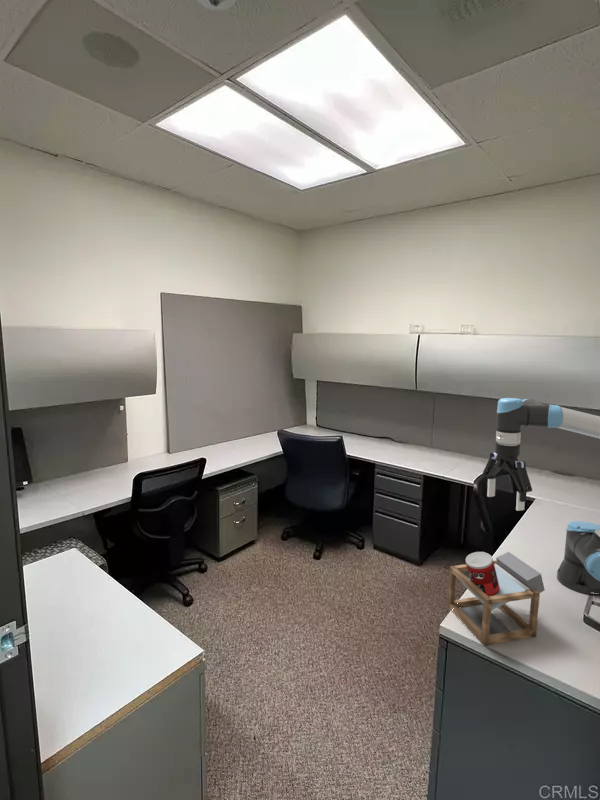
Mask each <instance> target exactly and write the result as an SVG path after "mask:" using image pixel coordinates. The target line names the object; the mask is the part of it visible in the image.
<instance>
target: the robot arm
mask: <svg viewBox="0 0 600 800" xmlns="http://www.w3.org/2000/svg"><path fill="white" fill-rule="evenodd" d="M522 427H524V428H526V427H527V428H547V429H550V428H556V429H561V430H563V431H567V432H571V433H577V434H580V435H584V436H588V437H592V438H595V439H599V440H600V416H599V415H595V414H593V413H592V414H591V413H587V412H583V411H578V410H575V409H571V408H567V407H563V406H560V405H556V404H550V403H546V402H541V401H537V400H536V399H531V398H525V399H521V398H516V397H504V398H503V397H502V398H500V399H498V401H497V409H496V429H495V430H496V432H495V442H496V443H495V448H494V449H495V451H494V452H490V453H489V459H488V461H487V463H486V465H485V467H484V469H483V472H482V475H483V476H485V478H486V487H487V493H486V497H488V498H492V497H495V496H496V482H497V481H496V480H497V479H496V476H497V474H498V473H500V471H501V470H505V471H506V472H508V474H510V476H511V478H512V479H513V482H514V484H515V486H516V488H517V489H518V490H517V491H516V502H515V503H516V504H515V505H516V506H515V510H516V511H518V512H519V511H525V503H526V502H527V493H529V492H533V488H532V487H533V486H532V483H531V481H530V477H529V475H528V471H527V465H526V463H527V462H525V461H524V460H522V461H519V460H518V457H519V456H520V452H521V445H520V444H521V435H522V434H521V433H522V432H521V431H522ZM565 532H566V535H565V544H564V545H565V547H564V557H563V560H562V562H561V563H560V565H559V568H558V569H557V571H556V579H557V581H558V582H559V583H560V584H562V585H563V586H564V587H566V588H568V589H571V590H573V591H575V592H578V593H581V594H587V595H590V594H589V593H591V592H594V593H600V524H596V523H594V522H588V521H583V520H582V521H580V520H574V521H570V522H568V524H567V527H566V529H565Z"/></svg>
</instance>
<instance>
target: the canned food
mask: <svg viewBox="0 0 600 800" xmlns="http://www.w3.org/2000/svg"><path fill="white" fill-rule="evenodd" d="M493 561H494V559H493V557H492V555H491V554H489V553H487V552H485V551H475V552H471V553H469V554H468V555H467V556H466V558H465V564H466V565H467V569H468V571H467V572H468V576H469V577H470V581H472V582H473V583H474V584H475V585H476V586H477V587H478V588H479V589H481V590H482V591H483V592H484V593H485V594H486V595H487V596H494V595H496V594H497V593H498V591H499V583H498V578H497V574H496V570H495V566H494V562H493Z"/></svg>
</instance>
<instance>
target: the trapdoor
mask: <svg viewBox="0 0 600 800" xmlns="http://www.w3.org/2000/svg"><path fill="white" fill-rule="evenodd" d="M495 559H496V560H497V564H498V565H497V564H494V566H495V570H496V574H497V578H498V583H499V591H498V593H497V594H496V595H502V594H509V593H516V592H523V591H529V590H530V591H531V592H532V590H537V591H539V592H540V594H541V593H542V592H545V591H546V589H545V585H544V582H543V581H544V580H543V577H542V573H541V572H539V571H538V570H536V569H534V568H533V567H532V566H530V565H528V564H527V563H526V562H524V561H523V560H521V559H520V558H518V556H515V555H514V554H513V553H511V552H510V551H507V552H505V553H502V554H500V555H499V556H496V557H495ZM496 560H495V561H496ZM467 578H468V579H469V580H470V577H468V576H467ZM460 583H461V584H462V586H464V587H465V588H466V589H467V590H468V591H469V592H470V593H471V594H472V595H473V596H474V597H477V598H478V599H479V600H480V601H481V602H482V603H483V604H484V602H483V601H482V600H481V599H480V598H479V597H478V596H477V595H476V594H475V593H473V592H472V591H471V590H470V589H469V588H468V587H467V586H466V585H465V584H464V583H463V582H462V581H460ZM494 596H495V595H494ZM508 603H509V602H503V603H497V604H492V605H491V612H492V611H493V610H496V609H497V608H498V607H500V606H502V605H504V604H506V605H507V604H508ZM483 604H482V605H483ZM498 609H499V608H498Z"/></svg>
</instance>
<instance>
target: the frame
mask: <svg viewBox="0 0 600 800" xmlns="http://www.w3.org/2000/svg"><path fill="white" fill-rule="evenodd" d="M493 562H494V564H497V560H493ZM497 565H498V564H497ZM463 572H468V569H467V565H466V563H465V564H458V565H450V566H449V575H448V588H447V590H448V592H447V608H448V609H449V610H450V611H451V612H452V613H453V614H454V615H455V616H456V618H459V619H460V620H461V621H462V622H463V623H462V622H461V621H460V620H459V619H458V620H459V621H460V622H461V623H462V624H463V625H464V624H465V625H464V627H466V626H467V627H466V629H468V631H469V632H470V633H473V634H474V635H475V636H476V637H475V636H474V635H473V634H472V635H473V636H474V637H475V638H476V639H477V640H478V642H480V644H482V646H491V645H498V644H502V643H508V642H512V641H513V642H515V641H521V640H525V639H531V638H537V630H538V629H537V627H538V618H539V616H538V615H539V608H540V596H541V595H540V594H541V593H540V592H539V591H537V590H532V592H531V591H530V590H529V591H523V592H516V593H509V594H502V595H495V596H487V595H486V594H485V593H484V592H483V591H482V590H481V589H479V588H478V587H477V586H476V585H475V584H474V583H473V582H472V581H470V580H469V579H468V576H466V575H465V574H464V573H463ZM456 579H458V580H459V581H460V582H461V581H462V582H463V583H464V584H465V585H466V586H467V587H468V588H469V589H470V590H471V591H472V592H473V593H475V594H476V595H477V596H478V597H479V598H480V599H481V600H482V601H483V602H484V604H483V603H482V602H481V601H480V600H479V599H478V598H477V597H476V596H473V597H467V598H460V599H461V600H460V599H459V598H458V599H455V598H456V597H455V596H456V583H457V582H456V581H457V580H456ZM529 599H530V607H529V616H528V617H529V619H528V622H527V621H526V620H525V619H524V618H522V617H521V616H520V615H518V614H517V612H515V611H514V610H513V609H512V608H511V607H509V605H507V603H506V604H504V605H502V606H500V607H498V609H499V610H500V611H501V612H502V613H503V614H505V615H506V616H507V617H508V618H509V619H511V621H512V622H514V623H515V624H516V625H517V626H518V627H519V628H521V629H517V630H516V629H515V630H511V629H509V628H508V626H506V625H505V624H504V623H503V622H502V621H501V620H500V619H499V618H498V617H497V616H495V615H494V614H493V613H492V611H491V605H492V604H497V603H503V602H508V603H509V602H515V601H523V600H529ZM457 603H458V604H457ZM453 608H454V609H453ZM452 609H453V611H452Z"/></svg>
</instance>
